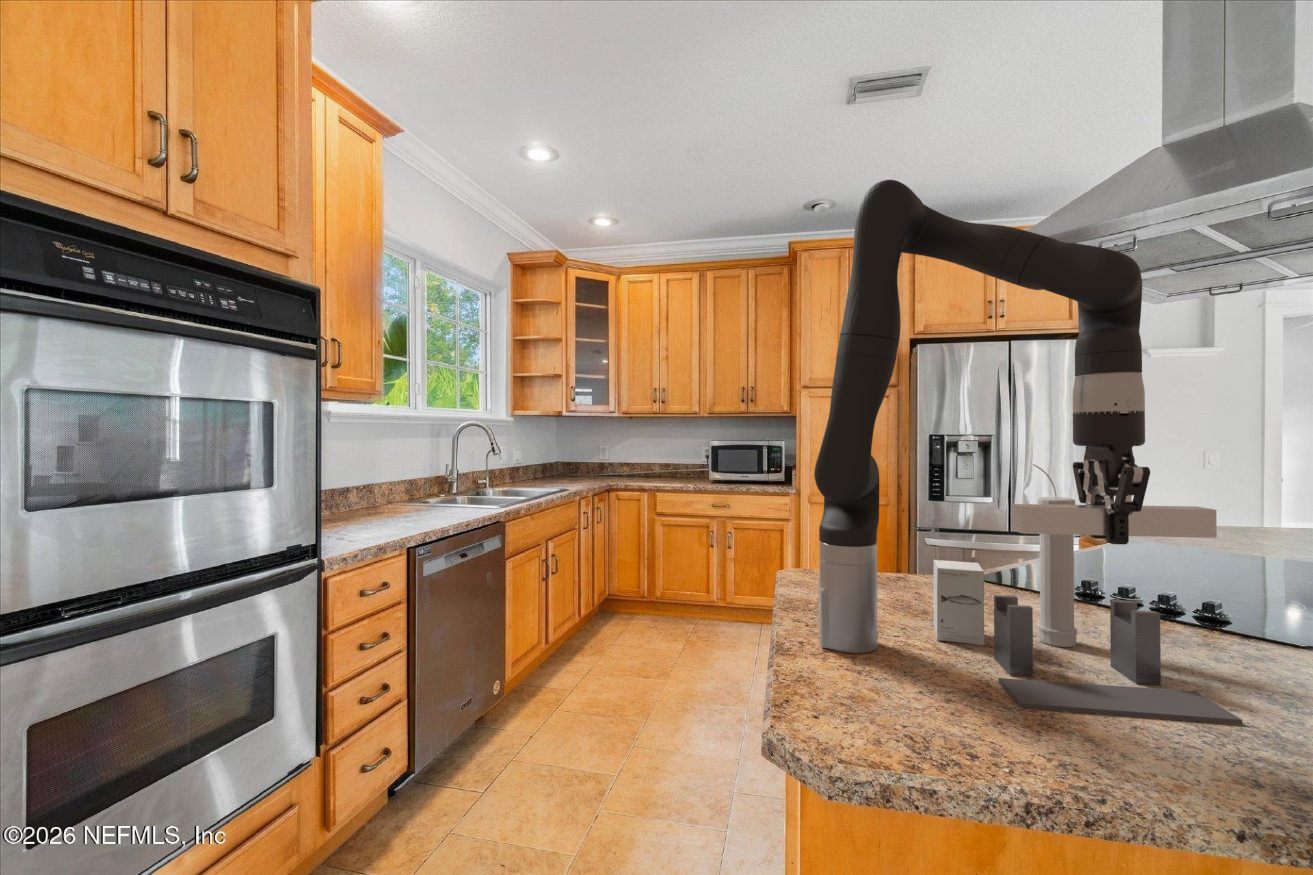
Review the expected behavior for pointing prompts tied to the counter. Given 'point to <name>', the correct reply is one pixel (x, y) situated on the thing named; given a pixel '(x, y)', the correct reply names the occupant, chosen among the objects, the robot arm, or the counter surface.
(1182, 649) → the counter surface
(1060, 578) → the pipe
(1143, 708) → the mat
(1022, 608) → the post
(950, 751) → the counter surface
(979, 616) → the supplement box
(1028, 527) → the rail
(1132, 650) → the post
